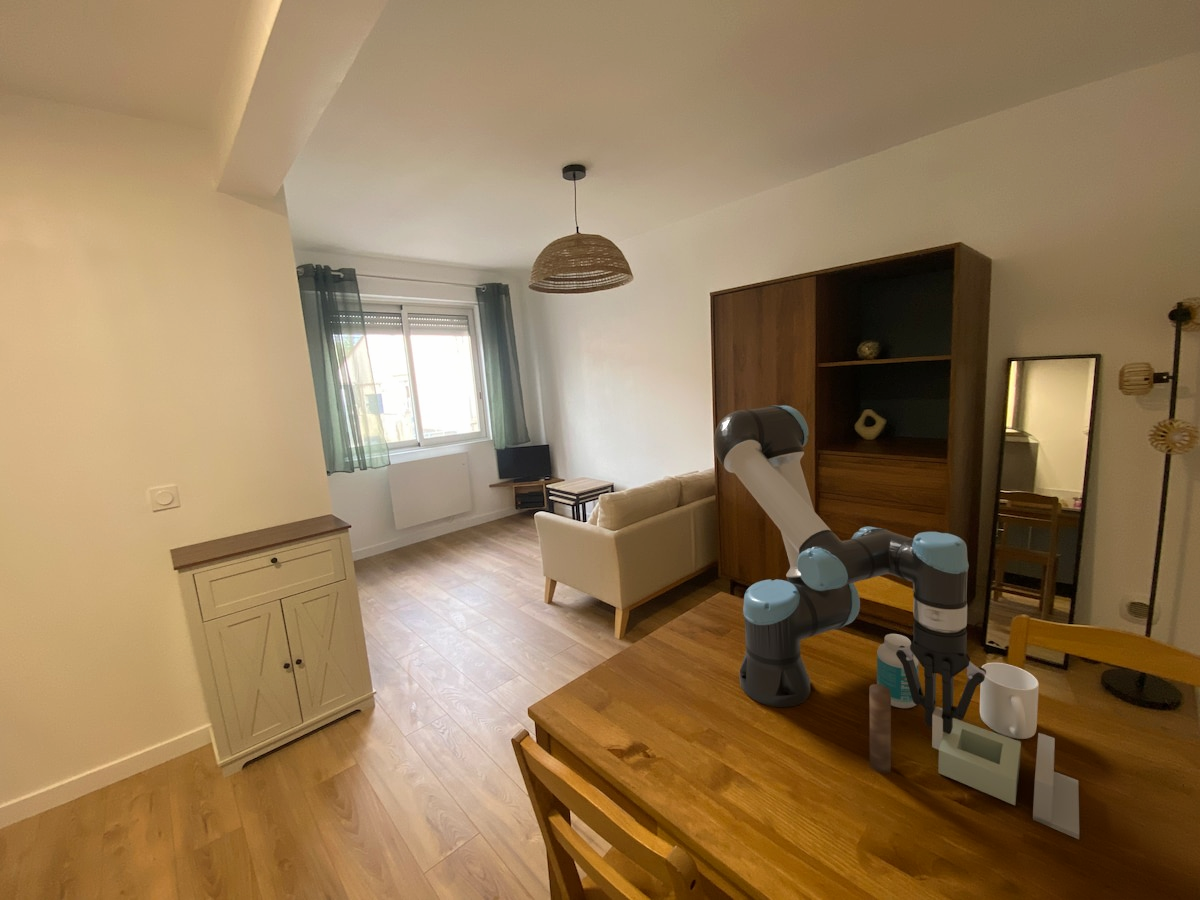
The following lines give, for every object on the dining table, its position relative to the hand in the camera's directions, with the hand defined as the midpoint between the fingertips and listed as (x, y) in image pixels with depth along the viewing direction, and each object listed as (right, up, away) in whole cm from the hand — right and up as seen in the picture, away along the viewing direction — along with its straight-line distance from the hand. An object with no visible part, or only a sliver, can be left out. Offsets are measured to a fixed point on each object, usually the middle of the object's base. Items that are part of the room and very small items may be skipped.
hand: (938, 744), depth 85 cm
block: (+4, -2, -3) cm, 6 cm away
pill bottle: (+2, 0, +15) cm, 15 cm away
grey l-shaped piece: (+11, -3, -10) cm, 15 cm away
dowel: (-11, -3, -1) cm, 12 cm away
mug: (+16, 0, +4) cm, 17 cm away
